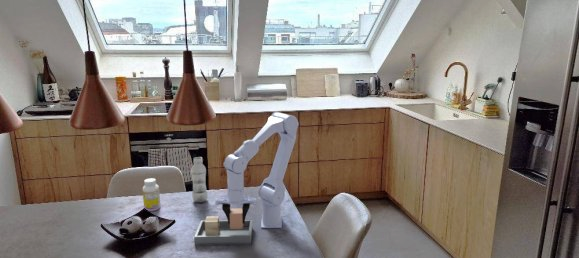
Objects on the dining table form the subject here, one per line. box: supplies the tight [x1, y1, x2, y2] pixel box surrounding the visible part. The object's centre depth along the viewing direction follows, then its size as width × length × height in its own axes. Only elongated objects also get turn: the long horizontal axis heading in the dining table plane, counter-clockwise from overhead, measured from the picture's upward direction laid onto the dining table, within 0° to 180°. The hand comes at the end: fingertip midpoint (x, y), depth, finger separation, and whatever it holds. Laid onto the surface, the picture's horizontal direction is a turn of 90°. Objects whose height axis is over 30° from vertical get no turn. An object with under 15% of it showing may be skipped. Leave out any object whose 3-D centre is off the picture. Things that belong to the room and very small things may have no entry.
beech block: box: [204, 215, 220, 236], centre depth 148 cm, size 4×4×6 cm
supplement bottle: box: [142, 177, 161, 212], centre depth 171 cm, size 7×7×13 cm
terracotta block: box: [230, 207, 243, 229], centre depth 148 cm, size 4×4×6 cm
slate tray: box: [193, 219, 254, 247], centre depth 149 cm, size 13×20×4 cm, turn 92°
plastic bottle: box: [190, 156, 209, 203], centre depth 178 cm, size 6×7×20 cm
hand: (236, 222), depth 148 cm, fingers closed on terracotta block, 4 cm apart
